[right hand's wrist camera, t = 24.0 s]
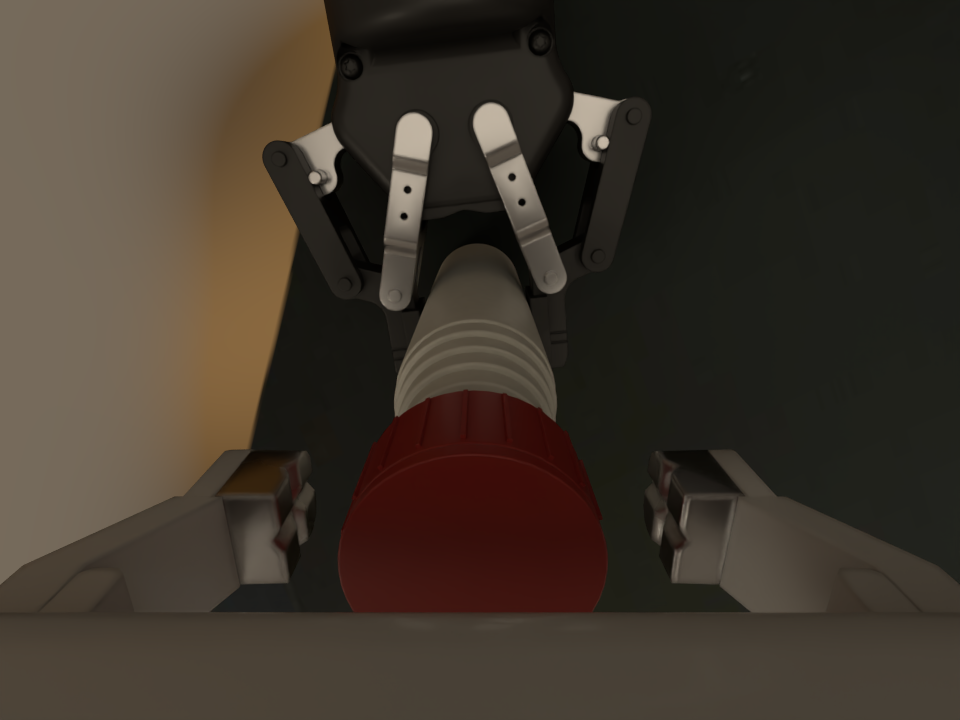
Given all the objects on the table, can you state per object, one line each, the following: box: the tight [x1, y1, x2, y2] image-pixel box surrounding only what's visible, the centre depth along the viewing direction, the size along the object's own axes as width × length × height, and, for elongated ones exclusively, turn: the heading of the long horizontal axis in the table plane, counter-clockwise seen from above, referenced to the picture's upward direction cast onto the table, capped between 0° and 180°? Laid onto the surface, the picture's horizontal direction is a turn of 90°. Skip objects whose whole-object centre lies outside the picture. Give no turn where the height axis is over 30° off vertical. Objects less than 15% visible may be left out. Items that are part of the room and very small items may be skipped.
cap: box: [338, 389, 608, 612], centre depth 9 cm, size 4×4×2 cm
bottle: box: [394, 244, 557, 421], centre depth 18 cm, size 4×4×20 cm
